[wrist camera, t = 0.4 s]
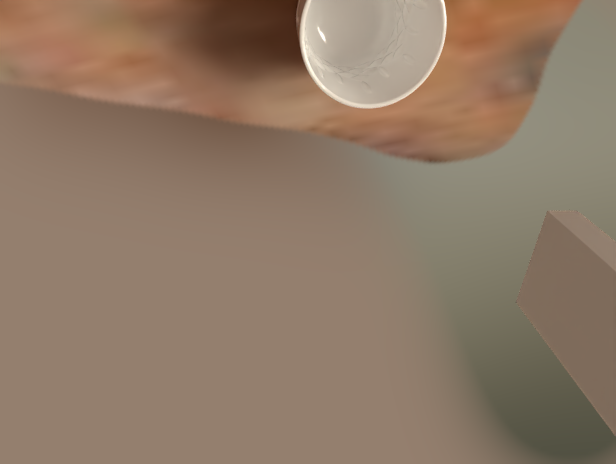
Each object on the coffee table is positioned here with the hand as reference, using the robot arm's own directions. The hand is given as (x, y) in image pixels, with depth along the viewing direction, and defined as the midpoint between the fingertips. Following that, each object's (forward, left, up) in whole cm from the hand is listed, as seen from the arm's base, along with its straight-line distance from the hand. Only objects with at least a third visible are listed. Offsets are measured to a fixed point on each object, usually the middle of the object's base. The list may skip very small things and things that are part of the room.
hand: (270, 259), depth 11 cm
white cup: (-3, +6, -28) cm, 28 cm away
